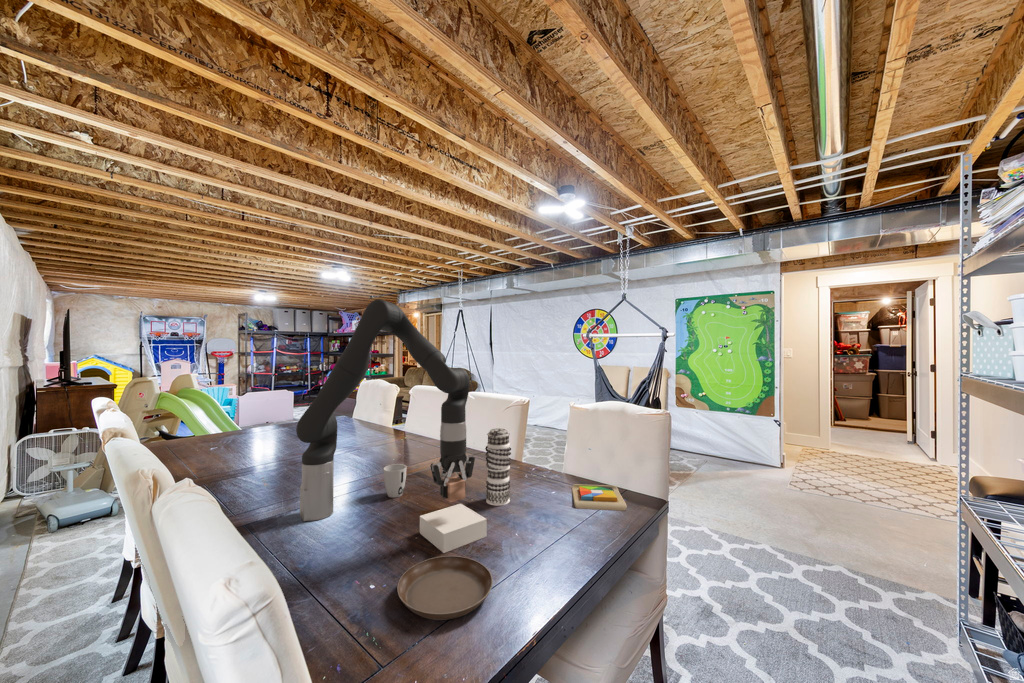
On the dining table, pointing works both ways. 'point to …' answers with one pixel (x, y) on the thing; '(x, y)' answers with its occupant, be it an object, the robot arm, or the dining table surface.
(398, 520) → the dining table surface
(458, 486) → the terracotta cube
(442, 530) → the off-white plinth
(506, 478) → the decorative candle
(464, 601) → the plant saucer
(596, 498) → the wooden puzzle
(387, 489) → the cup
